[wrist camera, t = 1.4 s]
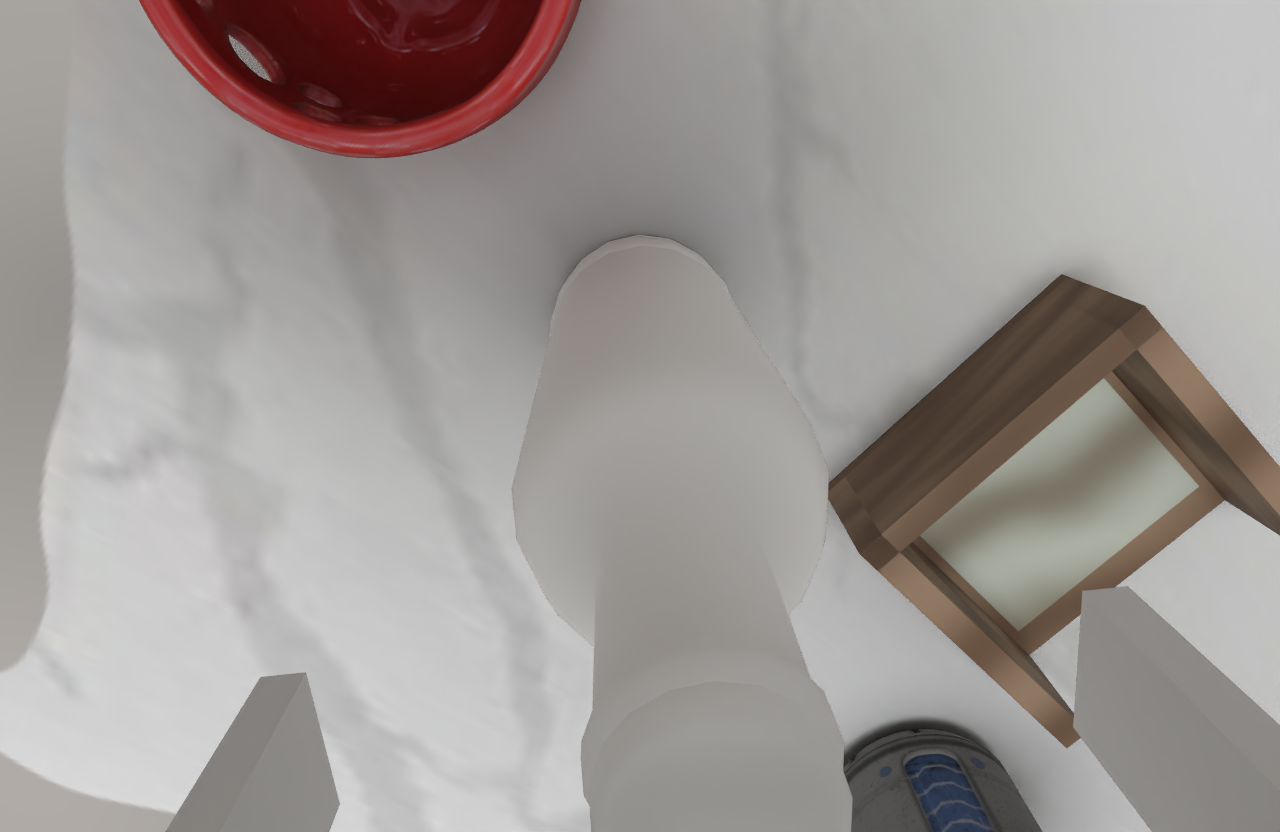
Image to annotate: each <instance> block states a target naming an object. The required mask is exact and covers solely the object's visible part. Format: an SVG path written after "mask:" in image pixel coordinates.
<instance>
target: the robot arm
mask: <svg viewBox="0 0 1280 832" xmlns="http://www.w3.org/2000/svg"><path fill="white" fill-rule="evenodd" d="M1073 728H1074V729H1075V730H1076V732H1077V733H1078V734H1079V736H1080V737H1081V738H1082V740H1083V741H1084V742H1085V743H1086V745H1087V746H1088V747H1089V749H1090V750H1091V751H1092V753H1093V754H1094V755H1095V757H1096V758H1097V759H1098V761H1099V762H1100V763H1101V765H1102V766H1103V767H1104V769H1105V770H1106V771H1107V773H1108V774H1109V775H1110V777H1111V778H1112V779H1113V781H1114V782H1115V783H1116V785H1117V786H1118V787H1119V789H1120V790H1121V791H1122V792H1123V794H1124V795H1125V796H1126V798H1127V799H1128V800H1129V802H1130V803H1131V804H1132V806H1133V807H1134V808H1135V810H1136V811H1137V812H1138V814H1139V815H1140V816H1141V818H1142V819H1143V820H1144V822H1145V823H1146V824H1147V826H1148V827H1149V828H1150V830H1151V831H1152V832H1280V725H1279V724H1278V723H1277V722H1276V721H1275V720H1274V719H1272V718H1271V717H1270V716H1269V715H1268V714H1267V713H1266V712H1265V711H1264V710H1263V709H1262V708H1260V707H1259V706H1258V705H1257V704H1256V703H1255V702H1254V701H1253V700H1252V699H1251V698H1249V697H1248V696H1247V695H1246V694H1245V693H1244V692H1243V691H1242V690H1241V689H1240V688H1239V687H1237V686H1236V685H1235V684H1234V683H1233V682H1232V681H1231V680H1230V679H1229V678H1228V677H1226V676H1225V675H1224V674H1223V673H1222V672H1221V671H1220V670H1219V669H1218V668H1217V667H1216V666H1214V665H1213V664H1212V663H1211V662H1210V661H1209V660H1208V659H1207V658H1206V657H1205V656H1204V655H1202V654H1201V653H1200V652H1199V651H1198V650H1197V649H1196V648H1195V647H1194V646H1193V645H1191V644H1190V643H1189V642H1188V641H1187V640H1186V639H1185V638H1184V637H1183V636H1182V635H1181V634H1179V633H1178V632H1177V631H1176V630H1175V629H1174V628H1173V627H1172V626H1171V625H1170V624H1168V623H1167V622H1166V621H1165V620H1164V619H1163V618H1162V617H1161V616H1160V615H1159V614H1158V613H1156V612H1155V611H1154V610H1153V609H1152V608H1151V607H1150V606H1149V605H1148V604H1147V603H1145V602H1144V601H1143V600H1142V599H1141V598H1140V597H1139V596H1138V595H1137V594H1136V593H1135V592H1133V591H1132V590H1131V589H1130V588H1129V587H1128V586H1125V587H1116V588H1106V589H1097V590H1087V591H1082V604H1081V619H1080V633H1079V648H1078V663H1077V678H1076V692H1075V707H1074V722H1073ZM339 805H340V803H339V799H338V795H337V791H336V787H335V783H334V779H333V776H332V772H331V768H330V764H329V760H328V756H327V752H326V748H325V745H324V741H323V737H322V733H321V729H320V725H319V721H318V717H317V713H316V710H315V706H314V702H313V698H312V694H311V690H310V686H309V682H308V679H307V675H306V672H305V673H296V674H286V675H277V676H267V677H260V679H259V681H258V682H257V684H256V686H255V687H254V689H253V690H252V692H251V694H250V695H249V697H248V699H247V700H246V702H245V703H244V705H243V707H242V708H241V710H240V712H239V713H238V715H237V716H236V718H235V720H234V721H233V723H232V725H231V726H230V728H229V729H228V731H227V733H226V734H225V736H224V738H223V739H222V741H221V742H220V744H219V746H218V747H217V749H216V751H215V752H214V754H213V755H212V757H211V759H210V760H209V762H208V764H207V765H206V767H205V769H204V770H203V772H202V773H201V775H200V777H199V778H198V780H197V782H196V783H195V785H194V786H193V788H192V790H191V791H190V793H189V795H188V796H187V798H186V799H185V801H184V803H183V804H182V806H181V808H180V809H179V811H178V812H177V814H176V816H175V817H174V819H173V821H172V822H171V824H170V825H169V827H168V829H167V830H166V832H329V831H330V828H331V825H332V823H333V820H334V818H335V815H336V813H337V810H338V807H339Z"/></svg>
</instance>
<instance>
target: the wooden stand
mask: <svg viewBox="0 0 1280 832" xmlns="http://www.w3.org/2000/svg"><path fill="white" fill-rule="evenodd" d="M828 498H829V500H830V502H831V504H832V506H833V507H834V509H835V511H836V513H837V514H838V516H839V518H840V520H841V522H842V523H843V525H844V527H845V529H846V531H847V532H848V534H849V536H850V538H851V540H852V541H853V543H854V545H855V547H856V549H857V550H858V552H859V554H860V555H861V556H862V557H864V558H865V559H866V560H867V561H868V562H869V563H870V564H871V565H872V566H873V567H874V568H875V569H876V570H877V571H878V572H880V573H881V574H882V575H883V576H884V577H885V578H886V579H887V580H888V581H889V582H890V583H891V584H892V585H893V586H894V587H895V588H897V589H898V590H899V591H900V592H901V593H902V594H903V595H904V596H905V597H906V598H907V599H908V600H909V601H910V602H911V603H913V604H914V605H915V606H916V607H917V608H918V609H919V610H920V611H921V612H922V613H923V614H924V615H925V616H926V617H927V618H928V619H930V620H931V621H932V622H933V623H934V624H935V625H936V626H937V627H938V628H939V629H940V630H941V631H942V632H943V633H944V634H946V635H947V636H948V637H949V638H950V639H951V640H952V641H953V642H954V643H955V644H956V645H957V646H958V647H959V648H960V649H962V650H963V651H964V652H965V653H966V654H967V655H968V656H969V657H970V658H971V659H972V660H973V661H974V662H975V663H976V664H977V665H979V666H980V667H981V668H982V669H983V670H984V671H985V672H986V673H987V674H988V675H989V676H990V677H991V678H992V679H993V680H995V681H996V682H997V683H998V684H999V685H1000V686H1001V687H1002V688H1003V689H1004V690H1005V691H1006V692H1007V693H1008V694H1009V695H1011V696H1012V697H1013V698H1014V699H1015V700H1016V701H1017V702H1018V703H1019V704H1020V705H1021V706H1022V707H1023V708H1024V709H1025V710H1026V711H1028V712H1029V713H1030V714H1031V715H1032V716H1033V717H1034V718H1035V719H1036V720H1037V721H1038V722H1039V723H1040V724H1041V725H1042V726H1044V727H1045V728H1046V729H1047V730H1048V731H1049V732H1050V733H1051V734H1052V735H1053V736H1054V737H1055V738H1056V739H1057V740H1058V741H1059V742H1061V743H1062V744H1063V745H1064V746H1065V747H1066V748H1068V747H1069V746H1071V745H1072V744H1073V743H1075V742H1076V741H1077V740H1079V739H1080V738H1081V737H1080V736H1079V734H1078V733H1077V732H1076V730H1075V729H1074V728H1073V722H1074V713H1073V712H1072V710H1071V709H1070V708H1069V707H1068V705H1067V704H1066V703H1065V701H1064V700H1063V699H1062V697H1061V696H1060V695H1059V693H1058V692H1057V691H1056V690H1055V688H1054V687H1053V686H1052V684H1051V683H1050V682H1049V680H1048V679H1047V678H1046V676H1045V675H1044V674H1043V672H1042V671H1041V670H1040V669H1039V667H1038V666H1037V665H1036V663H1035V662H1034V661H1033V659H1032V658H1031V657H1030V654H1031V653H1032V652H1034V651H1035V650H1036V649H1037V648H1039V647H1040V646H1041V645H1042V644H1044V643H1045V642H1046V641H1047V640H1049V639H1050V638H1051V637H1053V636H1054V635H1055V634H1056V633H1058V632H1059V631H1060V630H1061V629H1063V628H1064V627H1065V626H1066V625H1068V624H1069V623H1070V622H1071V621H1073V620H1074V619H1075V618H1077V617H1078V616H1079V615H1080V614H1081V604H1082V591H1087V590H1097V589H1106V588H1114V587H1116V586H1117V585H1118V584H1119V583H1121V582H1122V581H1123V580H1124V579H1126V578H1127V577H1128V576H1130V575H1131V574H1132V573H1133V572H1135V571H1136V570H1137V569H1138V568H1140V567H1141V566H1142V565H1143V564H1145V563H1146V562H1147V561H1148V560H1150V559H1151V558H1152V557H1154V556H1155V555H1156V554H1157V553H1159V552H1160V551H1161V550H1162V549H1164V548H1165V547H1166V546H1167V545H1169V544H1170V543H1171V542H1172V541H1174V540H1175V539H1176V538H1177V537H1179V536H1180V535H1181V534H1183V533H1184V532H1185V531H1186V530H1188V529H1189V528H1190V527H1191V526H1193V525H1194V524H1195V523H1196V522H1198V521H1199V520H1200V519H1201V518H1203V517H1204V516H1205V515H1207V514H1208V513H1209V512H1210V511H1212V510H1213V509H1214V508H1215V507H1217V506H1218V505H1219V504H1220V503H1222V502H1223V501H1224V500H1226V501H1227V502H1229V503H1230V504H1232V505H1234V506H1235V507H1237V508H1238V509H1240V510H1241V511H1243V512H1244V513H1246V514H1248V515H1249V516H1251V517H1252V518H1254V519H1255V520H1257V521H1258V522H1260V523H1261V524H1263V525H1265V526H1266V527H1268V528H1269V529H1271V530H1272V531H1274V532H1275V533H1277V534H1279V535H1280V467H1279V465H1278V464H1277V463H1276V462H1275V461H1274V459H1273V458H1272V457H1271V456H1270V455H1269V453H1268V452H1267V451H1266V450H1265V449H1264V447H1263V446H1262V445H1261V444H1260V443H1259V442H1258V440H1257V439H1256V438H1255V437H1254V436H1253V434H1252V433H1251V432H1250V431H1249V430H1248V428H1247V427H1246V426H1245V425H1244V424H1243V422H1242V421H1241V420H1240V419H1239V418H1238V416H1237V415H1236V414H1235V413H1234V412H1233V411H1232V409H1231V408H1230V407H1229V406H1228V405H1227V403H1226V402H1225V401H1224V400H1223V399H1222V397H1221V396H1220V395H1219V394H1218V393H1217V391H1216V390H1215V389H1214V388H1213V387H1212V385H1211V384H1210V383H1209V382H1208V381H1207V380H1206V378H1205V377H1204V376H1203V375H1202V374H1201V372H1200V371H1199V370H1198V369H1197V368H1196V366H1195V365H1194V364H1193V363H1192V362H1191V360H1190V359H1189V358H1188V357H1187V356H1186V354H1185V353H1184V352H1183V351H1182V350H1181V349H1180V347H1179V346H1178V345H1177V344H1176V343H1175V341H1174V340H1173V339H1172V338H1171V337H1170V335H1169V334H1168V333H1167V332H1166V331H1165V329H1164V328H1163V327H1162V326H1161V325H1160V323H1159V322H1158V321H1157V320H1156V319H1155V318H1154V316H1153V315H1152V314H1151V313H1150V312H1149V310H1148V309H1147V308H1146V307H1145V306H1144V305H1141V304H1138V303H1136V302H1133V301H1130V300H1128V299H1125V298H1122V297H1120V296H1117V295H1115V294H1112V293H1109V292H1107V291H1104V290H1101V289H1099V288H1096V287H1093V286H1091V285H1088V284H1085V283H1083V282H1080V281H1078V280H1075V279H1072V278H1070V277H1067V276H1064V275H1061V276H1059V277H1058V278H1057V279H1056V280H1055V281H1054V282H1053V283H1052V284H1051V285H1049V286H1048V287H1047V288H1046V289H1045V290H1044V291H1043V292H1042V293H1041V294H1039V295H1038V296H1037V297H1036V298H1035V299H1034V300H1033V301H1032V302H1030V303H1029V304H1028V305H1027V306H1026V307H1025V308H1024V309H1023V310H1022V311H1020V312H1019V313H1018V314H1017V315H1016V316H1015V317H1014V318H1013V319H1012V320H1010V321H1009V322H1008V323H1007V324H1006V325H1005V326H1004V327H1003V328H1002V329H1000V330H999V331H998V332H997V333H996V334H995V335H994V336H993V337H991V338H990V339H989V340H988V341H987V342H986V343H985V344H984V345H983V346H981V347H980V348H979V349H978V350H977V351H976V352H975V353H974V354H973V355H971V356H970V357H969V358H968V359H967V360H966V361H965V362H964V363H963V364H961V365H960V366H959V367H958V368H957V369H956V370H955V371H954V372H953V373H951V374H950V375H949V376H948V377H947V378H946V379H945V380H944V381H942V382H941V383H940V384H939V385H938V386H937V387H936V388H935V389H934V390H932V391H931V392H930V393H929V394H928V395H927V396H926V397H925V398H924V399H922V400H921V401H920V402H919V403H918V404H917V405H916V406H915V407H914V408H912V409H911V410H910V411H909V412H908V413H907V414H906V415H905V416H903V417H902V418H901V419H900V420H899V421H898V422H897V423H896V424H895V425H893V426H892V427H891V428H890V429H889V430H888V431H887V432H886V433H885V434H883V435H882V436H881V437H880V438H879V439H878V440H877V441H876V442H875V443H873V444H872V445H871V446H870V447H869V448H868V449H867V450H866V451H864V452H863V453H862V454H861V455H860V456H859V457H858V458H857V459H856V460H854V461H853V462H852V463H851V464H850V465H849V466H848V467H847V468H846V469H844V470H843V471H842V472H841V473H840V474H839V475H838V476H837V477H836V478H834V479H833V480H832V481H831V482H830V483H829V484H828Z"/></svg>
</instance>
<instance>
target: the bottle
mask: <svg viewBox="0 0 1280 832" xmlns="http://www.w3.org/2000/svg"><path fill="white" fill-rule="evenodd" d="M828 481H829V471H828V468H827V466H826V463H825V460H824V458H823V455H822V452H821V450H820V447H819V444H818V441H817V439H816V436H815V433H814V431H813V428H812V425H811V423H810V421H809V420H808V418H807V417H806V415H805V413H804V412H803V410H802V409H801V407H800V406H799V404H798V402H797V401H796V399H795V398H794V396H793V395H792V393H791V391H790V390H789V388H788V387H787V385H786V383H785V382H784V380H783V379H782V377H781V376H780V374H779V372H778V371H777V369H776V368H775V366H774V364H773V363H772V361H771V360H770V358H769V357H768V355H767V353H766V352H765V350H764V349H763V347H762V346H761V344H760V342H759V341H758V339H757V338H756V336H755V334H754V333H753V331H752V330H751V328H750V327H749V325H748V323H747V322H746V320H745V319H744V317H743V315H742V314H741V312H740V311H739V309H738V308H737V306H736V304H735V303H734V301H733V300H732V298H731V296H730V293H729V291H728V288H727V286H726V284H725V282H724V281H723V280H722V279H721V278H720V277H719V275H718V274H717V273H716V272H715V271H714V270H713V269H712V268H711V266H710V265H709V264H708V263H707V262H706V261H705V260H704V259H703V258H702V257H701V256H700V255H698V253H696V252H694V251H692V250H691V249H689V248H687V247H685V246H683V245H681V244H679V243H677V242H675V241H673V240H671V239H669V238H661V237H654V236H646V235H635V236H631V237H626V238H622V239H617V240H613V241H609V242H607V243H605V244H604V245H602V246H601V247H599V248H598V249H596V250H595V251H593V252H592V253H590V254H589V255H587V256H585V257H584V258H582V260H581V261H580V262H579V264H578V265H577V266H576V268H575V269H574V270H573V272H572V273H571V274H570V276H569V277H568V278H567V280H566V281H565V283H564V285H563V286H562V287H561V289H560V291H559V295H558V298H557V301H556V305H555V308H554V312H553V315H552V319H551V322H550V337H549V341H548V345H547V349H546V353H545V357H544V361H543V365H542V369H541V373H540V377H539V381H538V385H537V389H536V393H535V397H534V401H533V405H532V409H531V413H530V417H529V421H528V425H527V429H526V433H525V437H524V441H523V445H522V449H521V453H520V457H519V461H518V465H517V469H516V473H515V477H514V481H513V485H512V497H513V507H514V517H515V527H516V538H517V541H518V543H519V545H520V547H521V549H522V552H523V554H524V556H525V558H526V560H527V562H528V564H529V566H530V567H531V569H532V571H533V573H534V575H535V577H536V579H537V581H538V583H539V585H540V587H541V589H542V591H543V593H544V595H545V597H546V599H547V600H548V602H549V603H550V604H551V606H552V607H553V609H554V610H555V612H556V613H557V615H558V616H559V617H560V618H561V619H563V620H564V621H565V622H566V623H567V624H568V625H569V626H570V627H571V628H573V629H574V630H575V631H576V632H577V633H578V634H579V635H580V636H581V637H582V638H584V639H585V640H586V641H587V642H588V643H589V644H590V645H591V646H594V673H593V710H592V713H591V716H590V719H589V722H588V724H587V727H586V730H585V733H584V736H583V738H582V741H581V767H582V779H583V792H584V797H585V798H586V800H587V802H588V804H589V806H590V820H591V832H851V822H852V799H853V797H852V795H851V792H850V789H849V786H848V783H847V780H846V777H845V775H844V772H843V762H844V740H843V738H842V735H841V732H840V730H839V727H838V724H837V722H836V719H835V717H834V715H833V712H832V710H831V707H830V705H829V702H828V700H827V698H826V695H825V693H824V691H823V690H822V689H821V688H820V687H819V686H818V685H817V684H816V683H815V682H814V681H813V680H812V679H811V678H810V675H809V672H808V670H807V667H806V664H805V661H804V658H803V655H802V653H801V650H800V647H799V644H798V641H797V638H796V636H795V633H794V630H793V627H792V624H791V621H790V618H789V615H790V613H791V612H792V611H793V610H794V609H795V608H796V607H797V606H798V605H799V604H800V603H801V602H802V599H803V597H804V595H805V592H806V590H807V587H808V585H809V583H810V580H811V578H812V576H813V573H814V571H815V569H816V566H817V564H818V561H819V559H820V555H821V552H822V548H823V545H824V542H825V537H826V529H827V516H828Z"/></svg>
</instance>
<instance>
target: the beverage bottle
mask: <svg viewBox="0 0 1280 832" xmlns="http://www.w3.org/2000/svg"><path fill="white" fill-rule="evenodd" d="M843 772H844V775H845V777H846V780H847V783H848V786H849V789H850V792H851V795H852V797H853V799H852V822H851V832H1042V830H1041V829H1040V827H1039V825H1038V824H1037V822H1036V820H1035V819H1034V817H1033V815H1032V814H1031V812H1030V810H1029V809H1028V807H1027V805H1026V804H1025V802H1024V800H1023V798H1022V797H1021V795H1020V793H1019V792H1018V790H1017V788H1016V787H1015V785H1014V783H1013V782H1012V780H1011V778H1010V777H1009V775H1008V773H1007V772H1006V770H1005V769H1004V767H1003V766H1002V764H1001V762H1000V761H999V760H998V759H997V758H996V757H995V756H994V755H993V754H992V753H990V752H989V751H988V750H987V749H985V748H983V747H982V746H980V745H978V744H977V743H975V742H973V741H971V740H969V739H966V738H964V737H962V736H959V735H956V734H953V733H950V732H947V731H941V730H935V729H918V733H914V732H912V731H911V730H907V731H902V732H897V733H894V734H891V735H888V736H885V737H883V738H880V739H878V740H877V741H875V742H873V743H871V744H869V745H867V746H866V747H864V748H863V749H862V750H861V751H859V752H858V753H857V754H856V758H855V760H853V759H850V761H849V762H848V763H847V764H846V765H845V766H844V767H843Z"/></svg>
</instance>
